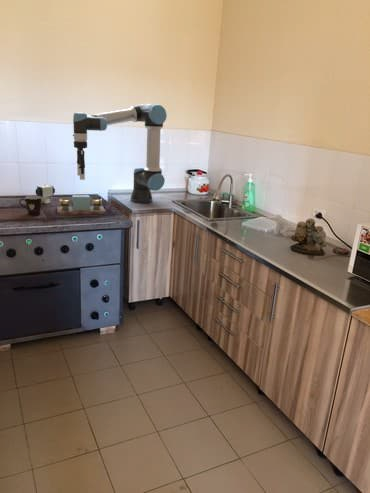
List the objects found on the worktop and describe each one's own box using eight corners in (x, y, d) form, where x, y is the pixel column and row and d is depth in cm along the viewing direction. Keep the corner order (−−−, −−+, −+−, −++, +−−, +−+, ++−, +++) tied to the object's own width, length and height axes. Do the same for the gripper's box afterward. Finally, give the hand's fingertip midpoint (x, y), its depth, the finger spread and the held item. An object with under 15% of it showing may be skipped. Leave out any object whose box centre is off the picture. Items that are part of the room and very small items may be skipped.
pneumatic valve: (55, 202, 274) (55, 184, 270) (40, 205, 265) (39, 186, 261) (50, 200, 277) (49, 182, 273) (34, 203, 267) (34, 184, 264)
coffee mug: (45, 214, 246) (44, 197, 242) (34, 217, 238) (33, 199, 235) (30, 210, 250) (29, 194, 247) (18, 213, 242) (17, 196, 239)
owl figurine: (288, 252, 209) (293, 219, 204) (287, 246, 220) (292, 214, 215) (326, 257, 206) (332, 223, 200) (323, 250, 217) (329, 218, 211)
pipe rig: (101, 207, 262) (101, 198, 260) (102, 209, 258) (102, 199, 256) (59, 208, 254) (59, 198, 252) (60, 210, 250) (59, 200, 248)
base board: (102, 208, 267) (102, 206, 267) (105, 213, 256) (105, 211, 255) (56, 209, 258) (56, 206, 257) (57, 214, 246) (57, 212, 246)
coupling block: (89, 207, 260) (89, 195, 258) (90, 209, 256) (90, 196, 253) (71, 208, 257) (71, 195, 254) (72, 210, 252) (71, 197, 250)
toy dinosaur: (263, 228, 244) (268, 210, 240) (305, 240, 236) (310, 221, 232) (260, 231, 238) (265, 212, 235) (302, 243, 230) (308, 224, 226)
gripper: (71, 138, 253) (72, 173, 260) (75, 142, 231) (76, 181, 238) (84, 138, 256) (85, 173, 263) (89, 143, 234) (90, 181, 241)
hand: (81, 177), depth 250 cm, fingers open, 13 cm apart
